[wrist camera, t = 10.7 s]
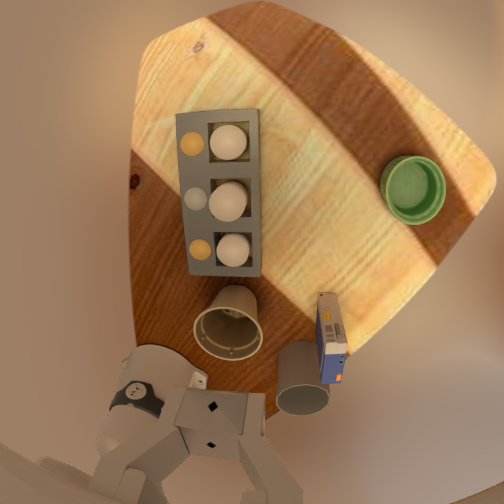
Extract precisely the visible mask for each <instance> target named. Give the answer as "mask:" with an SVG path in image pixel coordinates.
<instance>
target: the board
mask: <svg viewBox="0 0 504 504" xmlns="http://www.w3.org/2000/svg"><path fill="white" fill-rule="evenodd" d="M175 115H176V135H177V152H178V167H179V180H180V192H181V203H182V214H183V224H184V233H185V242H186V251H187V259H188V267H189V275H203V276H233V277H260V275H261V269H262V248H261V176H260V123H259V109H232V110H215V111H202V112H190V113H181V114H175ZM243 121H249V138H250V159H232V160H214V153H213V152H212V150H211V147H210V138H211V135H212V134H213V123H220V122H243ZM226 178H250V179H251V211H244V212H243V214H242V215H241V216H240V217H239V218H238V219H236V220H234V221H231V222H224V221H221V220H219V219H217V218H216V217H214V215H213V214H212V213H211V211H210V208H209V199H210V196H211V194H212V193H213V192H214V191H215V190H216V181H215V179H226ZM219 232H252V258H247V260H246V262H245V263H244V264H242V265H240V266H237V267H230V266H227V265H225V264H223V263H222V262H221V261H220V260H219V258H218V256H217V246H218V244H219Z"/></svg>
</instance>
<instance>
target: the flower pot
mask: <svg viewBox="0 0 504 504" xmlns="http://www.w3.org/2000/svg"><path fill="white" fill-rule="evenodd" d="M225 309H228V310H230V312H227V311H226V310H225ZM193 332H194V336H195V339H196V341H197V343H198V344H199V345H200V346H201V348H202V349H203V350H205V351H206V352H207V353H209V354H211V355H212V356H215V357H217V358H220V359H224V360H230V361H234V360H242V359H245V358H248V357H250V356H252V355H253V354H255V353H256V352H257V351H258V350H259V348H260V347H261V344H262V341H263V333H262V329H261V327H260V325H259V323H258V317H257V301H256V297H255V295H254V294H253V292H252V291H251V290H249V289H248V288H246V287H244V286H241V285H239V286H238V285H229V286H226V287H224V288H223V289H222V290H221V291H220V292H219V293H218V295H217V297H216V298H215V299H214V301H213V302H212V304H211V305H210V307H209V308H207V309H206V310H204V311H203V312H202V313H200V314H199V316H198V317H197V318H196V320H195V322H194V327H193Z"/></svg>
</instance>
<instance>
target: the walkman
mask: <svg viewBox="0 0 504 504" xmlns="http://www.w3.org/2000/svg"><path fill="white" fill-rule="evenodd" d="M316 340H317V349H318V358H319V368H320V378H321V384H334V383H340V382H341V378H342V373H343V367H344V362H345V357H346V350H347V344H348V342H347V338H346V334H345V330H344V325H343V321H342V317H341V313H340V309H339V305H338V302H337V298H336V294H335V293H327V292H319V293H318V305H317V320H316Z"/></svg>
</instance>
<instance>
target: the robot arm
mask: <svg viewBox="0 0 504 504" xmlns="http://www.w3.org/2000/svg"><path fill="white" fill-rule="evenodd" d="M121 367H122V368H123V371H122V373H121V376H120V378H119V380H118V383H117V385H116V388H115V392H116V395H115V397H114V398H113V400H112V403H111V405H110V408H109V410H110V413H109V415H108V417H107V419H106V421H105V423H104V425H103V427H102V429H101V431H100V433H99V435H98V437H97V441H96V445H97V450H98V452H99V454H100V456H101V459H100V461H99V463H98V465H97V467H96V470H95V472H94V474H93V476H90V475H88V474H86V473H84V472H82V471H80V470H79V469H76V468H75V467H73V466H70V465H68V464H65V463H63V462H60V461H58V460H55V459H53V458H50V457H42V458H39V459H36V460H35V461H33V462H32V461H30V460H28V459H27V458H25V457H23V456H22V455H20V454H18V453H17V452H15V451H14V450H12V449H11V448H9V447H8V446H6V445H5V444H3V443H2V442H0V504H169V502H168V500H167V498H166V496H165V494H164V491H163V488H162V484H161V482H162V481H163V480H164V479H165V478H166V477H167V476H168V475H170V473H172V472H173V471H174V470H175V469H176V468H177V467H178V466H179V465H180V464H181V463H182V462H183V461H185V459H187V458H188V457H189V454H192V455H200V456H208V457H216V458H224V459H231V460H240V462H241V464H242V466H243V468H244V469H245V471H246V473H247V475H248V477H249V479H250V481H251V482H252V484H253V486H254V488H255V490H248V489H247V490H246V491H244V492H243V493H242V498H241V503H240V504H303V489H302V488H301V487H300V485H299V484H298V483H297V481H296V480H295V478H294V477H293V475H292V474H291V473H290V471H289V470H288V468H287V467H286V466H285V464H284V463H283V461H282V460H281V458H280V457H279V455H278V454H277V452H276V451H275V449H274V448H273V446H272V445H271V443H270V442H269V440H268V439H267V437H264V429H265V394H264V393H249V392H232V391H219V390H218V391H213V390H206V389H207V380H208V375H207V374H206V373H205V372H204V371H202V370H200V369H198V368H196V367H194V366H193V365H192V364H191V363H190V362H189V361H188V360H186V359H185V358H184V357H183V356H181V355H180V354H178V353H177V352H175V351H173V350H171V349H168V348H166V347H162V346H158V345H142V346H139V347H137V348H135V349H134V350H133V351H132V353H131V355H130V357H129V358H127V359H125V360H123V361H122V364H121ZM451 504H504V481H503V482H501V483H499V484H497V485H495V486H492V487H490V488H488V489H486V490H483V491H481V492H479V493H476V494H474V495H472V496H469V497H467V498H464V499H461V500H459V501H456V502H453V503H451Z"/></svg>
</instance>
